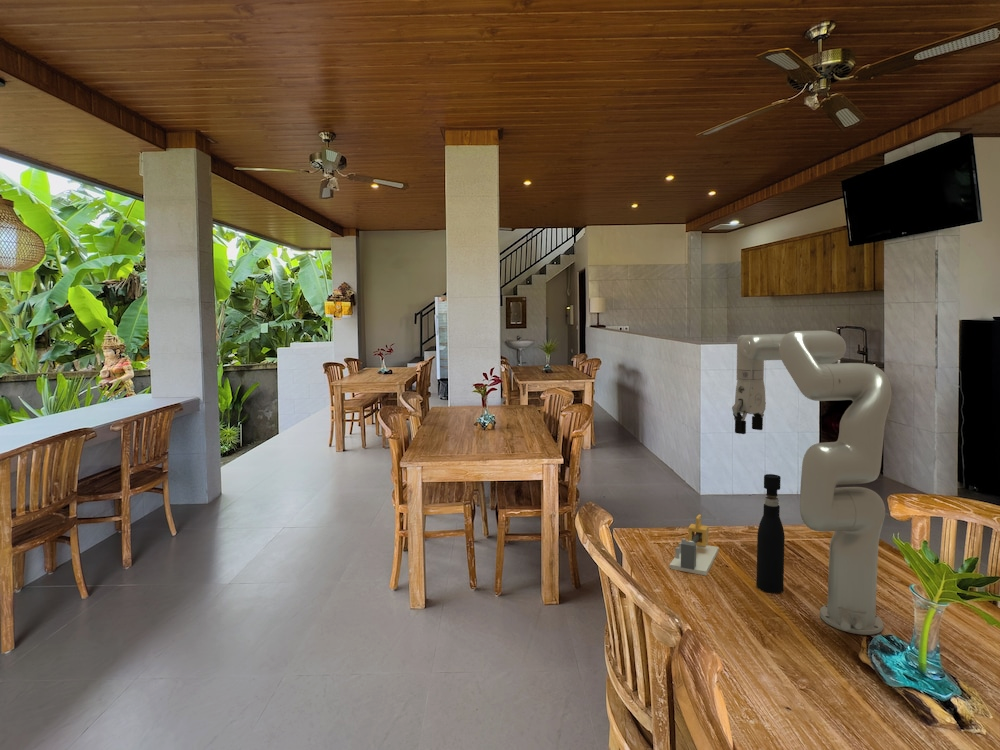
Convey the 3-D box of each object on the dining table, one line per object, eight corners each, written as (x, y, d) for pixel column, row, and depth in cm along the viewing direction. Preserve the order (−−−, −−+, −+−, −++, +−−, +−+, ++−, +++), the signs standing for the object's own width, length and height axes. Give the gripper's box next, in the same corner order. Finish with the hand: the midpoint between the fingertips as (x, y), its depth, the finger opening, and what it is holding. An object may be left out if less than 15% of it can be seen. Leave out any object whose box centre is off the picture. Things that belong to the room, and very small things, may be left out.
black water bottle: (755, 590, 150) (757, 477, 148) (757, 580, 156) (759, 471, 154) (782, 595, 147) (785, 480, 145) (783, 585, 153) (786, 474, 151)
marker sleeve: (705, 546, 171) (706, 519, 171) (688, 543, 174) (688, 517, 173) (708, 542, 175) (708, 515, 174) (691, 539, 177) (691, 513, 177)
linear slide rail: (705, 576, 159) (706, 548, 159) (669, 569, 164) (669, 541, 164) (718, 550, 177) (719, 525, 176) (685, 545, 182) (685, 520, 181)
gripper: (746, 378, 166) (745, 436, 168) (776, 374, 177) (775, 429, 178) (722, 376, 172) (721, 433, 174) (753, 373, 183) (751, 426, 184)
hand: (748, 431), depth 176 cm, fingers open, 9 cm apart
